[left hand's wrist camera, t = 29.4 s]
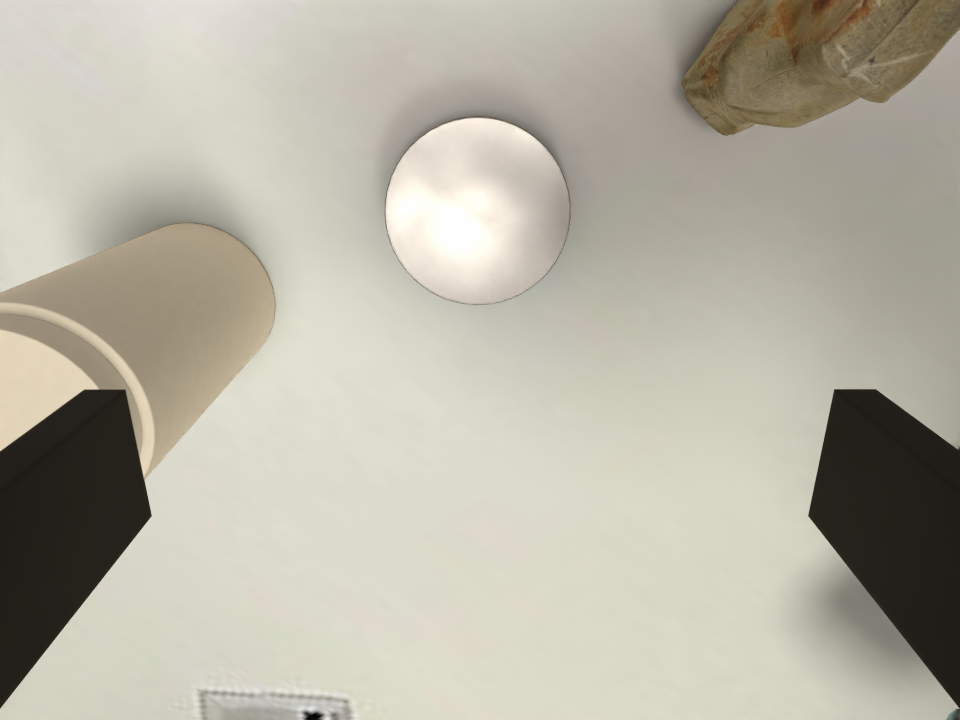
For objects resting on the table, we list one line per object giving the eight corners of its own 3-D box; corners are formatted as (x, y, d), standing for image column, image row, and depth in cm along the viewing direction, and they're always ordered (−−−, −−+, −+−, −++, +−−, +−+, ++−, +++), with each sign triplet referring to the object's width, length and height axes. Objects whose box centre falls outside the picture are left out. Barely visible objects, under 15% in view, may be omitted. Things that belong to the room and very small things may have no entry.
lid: (430, 321, 42) (428, 329, 41) (359, 158, 39) (353, 161, 37) (590, 260, 41) (594, 267, 39) (531, 86, 37) (533, 86, 36)
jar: (115, 215, 40) (-156, 301, 23) (274, 231, 40) (124, 328, 23) (128, 362, 43) (-99, 532, 26) (276, 375, 43) (145, 553, 27)
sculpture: (822, 49, 36) (1035, 18, 22) (717, 151, 38) (855, 181, 24) (753, -36, 35) (936, -125, 21) (649, 74, 37) (753, 60, 23)
